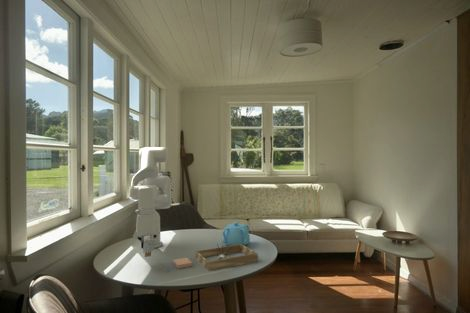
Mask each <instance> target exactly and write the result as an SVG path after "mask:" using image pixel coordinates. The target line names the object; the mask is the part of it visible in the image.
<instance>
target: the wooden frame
mask: <svg viewBox="0 0 470 313" xmlns="http://www.w3.org/2000/svg"><path fill="white" fill-rule="evenodd" d="M218 247H219V248H218ZM218 247H215V248H208V249H202V250H197V251H195V253H194V255H195V259H196V260H197V261H198V262H199V264H201V265H202V266H203V267H204V268H205V269H206V270H207V271H210V270H215V269H222V268H225V267H235V266H242V265H245V264H251V263H257V262H259V256H258V254H259V253H258V252H256V251H254V250H253V249H251V248H249V247H248V246H247V245H246V246H244V245H242V244H237V245H231V246H228V245H226V246H223V254H224V255H225V256H226V255H230V254H234V253H235V252H236V253H242V254H243V255H238V256H233V257H228V258H227V257H226V259H221V260H217V259H216V260H212V261H209V260H208V259H206V257H207V258H208V257H212V256H217V257H218V256H219V255H220V253H221V254H222V246H218ZM219 250H220V251H219ZM240 251H241V252H240Z"/></svg>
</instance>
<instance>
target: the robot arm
mask: <svg viewBox="0 0 470 313" xmlns="http://www.w3.org/2000/svg"><path fill="white" fill-rule="evenodd" d="M138 155H139V159H140V161H141V162H140V170H138V171H137V172H136V173H135V174H134V175H133V177H132V178H131V182H130V187H129V196H130V199H131V200H133V201H138V202H137V203H138V206H137V207H138V209H136V210H134V212H135V214H137V216H136V222H135V231H134V234H133V235H132V237H133V238H134V239H136V240H139V241H140V246H141V247H140V249H143V245H144V240H146V239H153V238H155V244H154V249H158V248H160V247H163V245H164V242H163V241H161V216H160V213H159V212H158V211H157V210H163V209H169V208H171V206H172V203H173V202H172V199H173V198H172V180H171V178H170V176H168V175H160V174H159V173H160V172H159V167H158V166H157V164H158V163H167V161H168V159H169V148H168V147H167V146H152V147H151V146H147V147H146V146H145V147H142V148H140V149H139V151H138ZM142 181H144V183H143V184H141V185H140V184H139V183H141V182H142Z"/></svg>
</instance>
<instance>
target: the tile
mask: <svg viewBox="0 0 470 313" xmlns="http://www.w3.org/2000/svg"><path fill="white" fill-rule="evenodd" d="M189 259H190V258H188V257H182V258H176V259H173V260H172V262H173V264H174V265H175V266H176V267H177V269H178V268H184V267H189V266H192V262H191V261H190V260H189Z"/></svg>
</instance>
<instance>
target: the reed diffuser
mask: <svg viewBox="0 0 470 313" xmlns="http://www.w3.org/2000/svg"><path fill="white" fill-rule="evenodd" d="M216 245H217V248H219V247H220V246H219V245H218V243H216ZM221 247H222V254H221V253H220V255H219V256H217V257H216V260H221V259H227V256H226V254H225V255H224V254H223V247H224V245H222V244H221ZM219 251H220V250H219Z"/></svg>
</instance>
